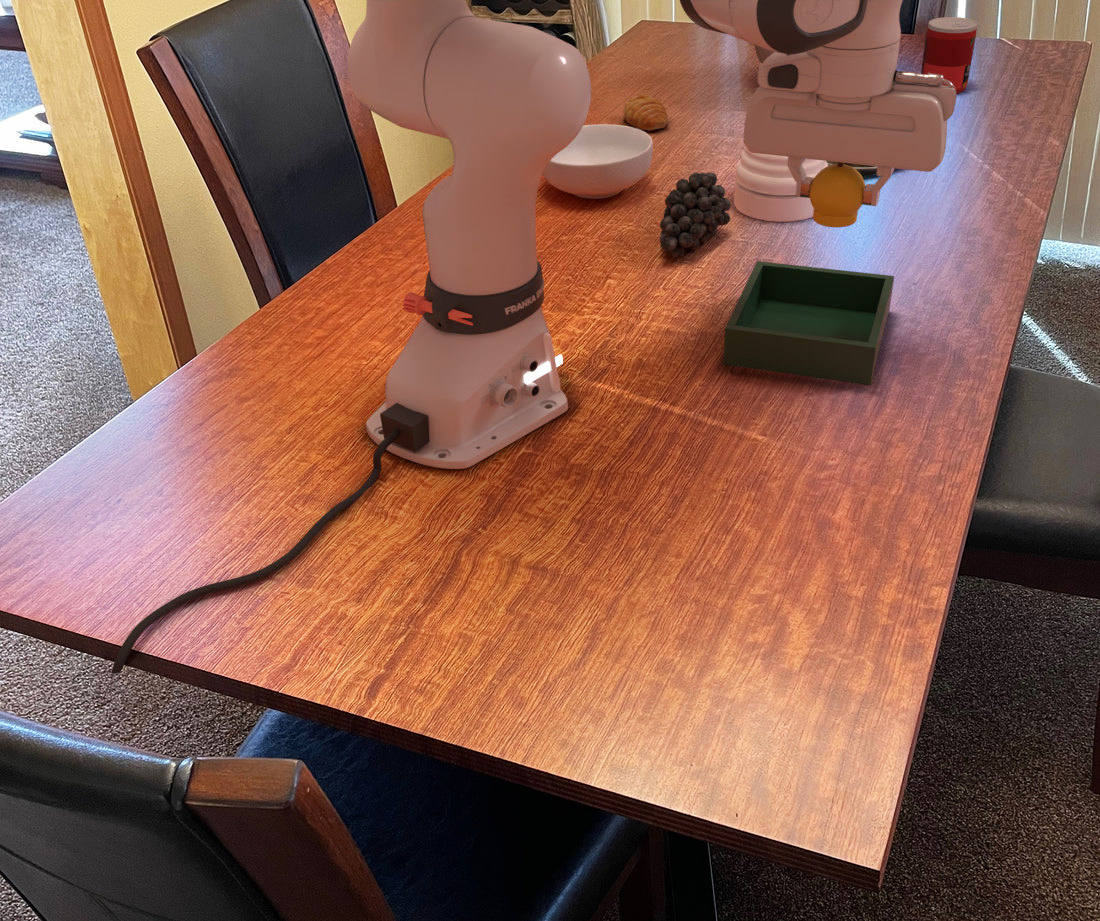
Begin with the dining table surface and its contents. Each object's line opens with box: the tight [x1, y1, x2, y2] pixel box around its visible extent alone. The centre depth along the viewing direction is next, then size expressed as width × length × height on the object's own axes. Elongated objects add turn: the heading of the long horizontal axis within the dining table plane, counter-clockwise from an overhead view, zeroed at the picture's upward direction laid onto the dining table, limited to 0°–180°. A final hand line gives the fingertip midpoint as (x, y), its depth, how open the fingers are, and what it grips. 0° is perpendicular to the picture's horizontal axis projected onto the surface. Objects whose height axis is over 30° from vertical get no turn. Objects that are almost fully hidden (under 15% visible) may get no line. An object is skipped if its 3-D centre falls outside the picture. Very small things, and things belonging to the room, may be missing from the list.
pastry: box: [622, 94, 669, 132], centre depth 186 cm, size 9×7×4 cm
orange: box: [809, 162, 867, 228], centre depth 117 cm, size 6×6×7 cm
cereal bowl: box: [542, 123, 654, 200], centre depth 163 cm, size 17×17×7 cm
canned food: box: [920, 16, 978, 94], centre depth 190 cm, size 8×8×11 cm
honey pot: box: [733, 144, 828, 223], centre depth 153 cm, size 13×13×18 cm
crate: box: [722, 260, 895, 386], centre depth 125 cm, size 17×16×5 cm
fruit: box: [659, 172, 732, 259], centre depth 146 cm, size 9×8×15 cm
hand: (836, 199), depth 118 cm, fingers closed on orange, 5 cm apart
